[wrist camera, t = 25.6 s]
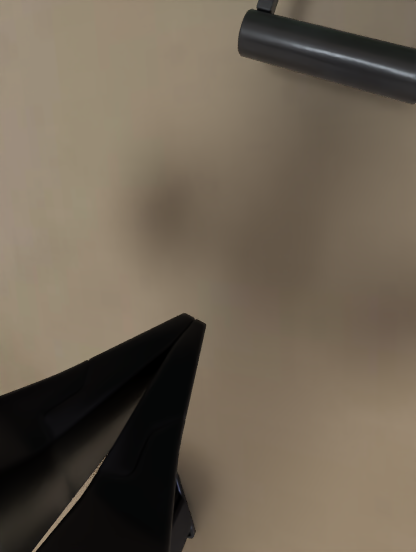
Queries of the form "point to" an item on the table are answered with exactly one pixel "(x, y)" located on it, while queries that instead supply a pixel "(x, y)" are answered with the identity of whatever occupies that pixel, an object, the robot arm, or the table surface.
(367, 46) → the drawer
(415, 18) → the table surface
